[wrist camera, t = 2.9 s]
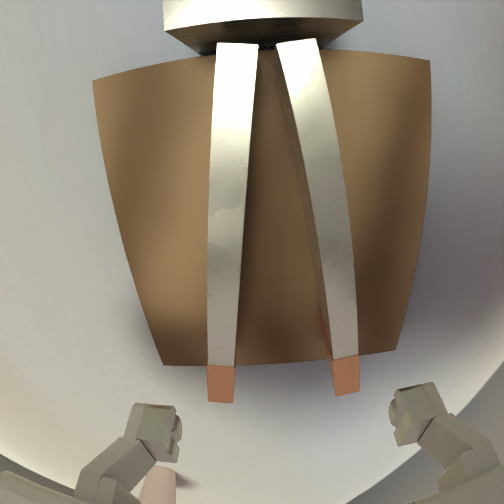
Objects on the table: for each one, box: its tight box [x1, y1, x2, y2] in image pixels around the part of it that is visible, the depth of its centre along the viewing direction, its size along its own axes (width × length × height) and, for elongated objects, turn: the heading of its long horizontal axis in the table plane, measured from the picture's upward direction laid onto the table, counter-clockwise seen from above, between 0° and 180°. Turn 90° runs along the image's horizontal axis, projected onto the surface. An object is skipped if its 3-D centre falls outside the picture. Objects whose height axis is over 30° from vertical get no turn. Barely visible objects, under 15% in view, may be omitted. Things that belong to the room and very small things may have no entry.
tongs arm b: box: [207, 43, 258, 403], centre depth 13 cm, size 16×1×4 cm, turn 176°
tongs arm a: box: [271, 38, 360, 396], centre depth 13 cm, size 16×1×4 cm, turn 14°
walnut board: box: [92, 49, 431, 366], centre depth 16 cm, size 16×18×2 cm
